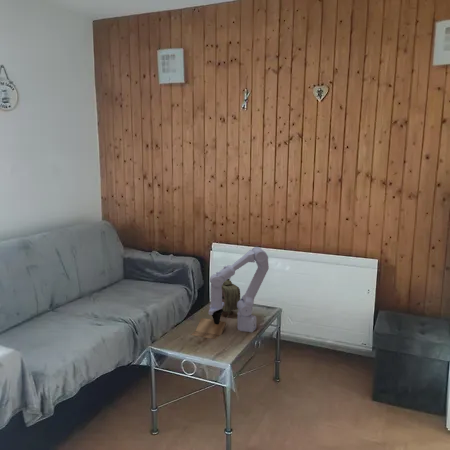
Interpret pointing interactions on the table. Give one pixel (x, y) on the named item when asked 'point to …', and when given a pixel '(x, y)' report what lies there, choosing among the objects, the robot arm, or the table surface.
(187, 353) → the table surface
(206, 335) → the laid row
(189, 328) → the table surface
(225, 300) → the tabletop clock
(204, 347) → the table surface
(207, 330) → the board
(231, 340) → the table surface
